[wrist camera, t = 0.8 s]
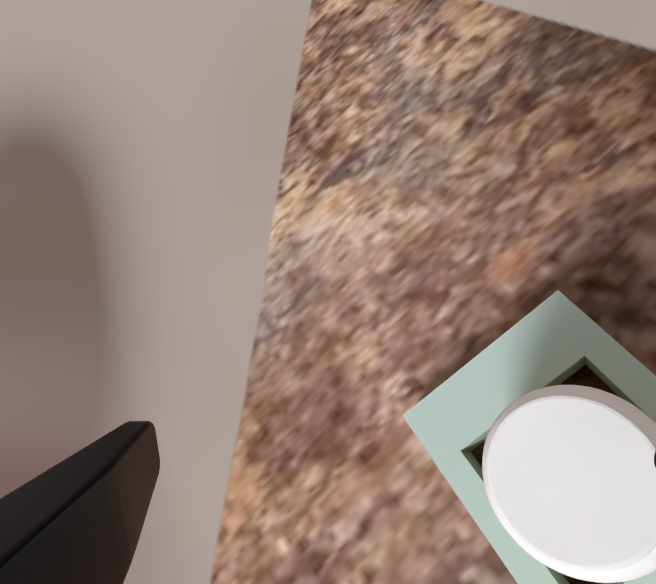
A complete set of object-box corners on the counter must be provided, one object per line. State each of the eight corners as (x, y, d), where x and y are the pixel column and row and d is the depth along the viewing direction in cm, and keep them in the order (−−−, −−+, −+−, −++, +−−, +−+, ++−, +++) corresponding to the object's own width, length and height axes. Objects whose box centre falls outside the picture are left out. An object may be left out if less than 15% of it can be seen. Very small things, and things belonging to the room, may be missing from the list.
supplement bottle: (595, 383, 19) (594, 325, 12) (701, 507, 17) (797, 545, 9) (489, 446, 21) (421, 434, 13) (570, 572, 18) (548, 657, 10)
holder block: (846, 559, 14) (877, 571, 13) (612, 697, 16) (614, 723, 14) (560, 303, 21) (558, 289, 20) (416, 419, 23) (402, 415, 21)
